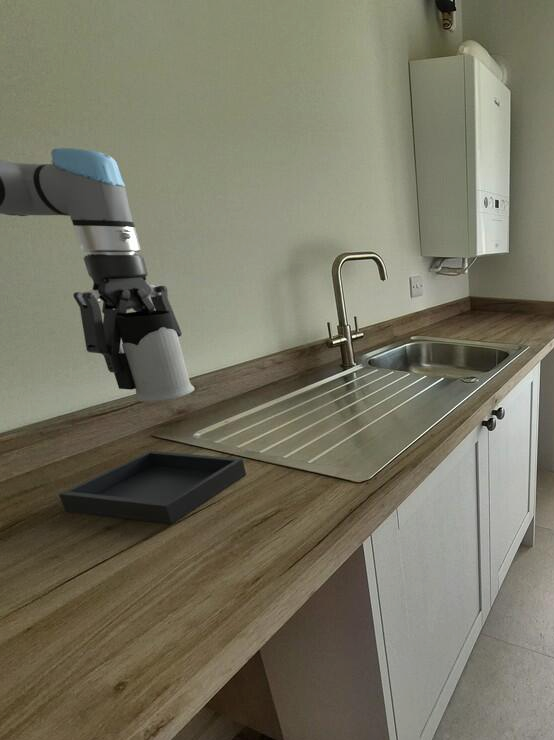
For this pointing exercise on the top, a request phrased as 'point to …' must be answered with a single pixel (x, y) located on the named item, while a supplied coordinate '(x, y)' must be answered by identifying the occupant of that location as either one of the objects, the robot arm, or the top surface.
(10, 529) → the top surface
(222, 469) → the tray
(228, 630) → the top surface
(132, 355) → the black and white mug
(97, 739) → the top surface
